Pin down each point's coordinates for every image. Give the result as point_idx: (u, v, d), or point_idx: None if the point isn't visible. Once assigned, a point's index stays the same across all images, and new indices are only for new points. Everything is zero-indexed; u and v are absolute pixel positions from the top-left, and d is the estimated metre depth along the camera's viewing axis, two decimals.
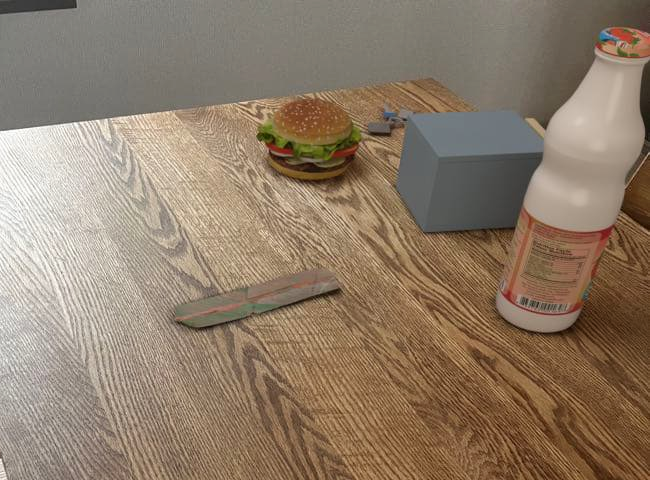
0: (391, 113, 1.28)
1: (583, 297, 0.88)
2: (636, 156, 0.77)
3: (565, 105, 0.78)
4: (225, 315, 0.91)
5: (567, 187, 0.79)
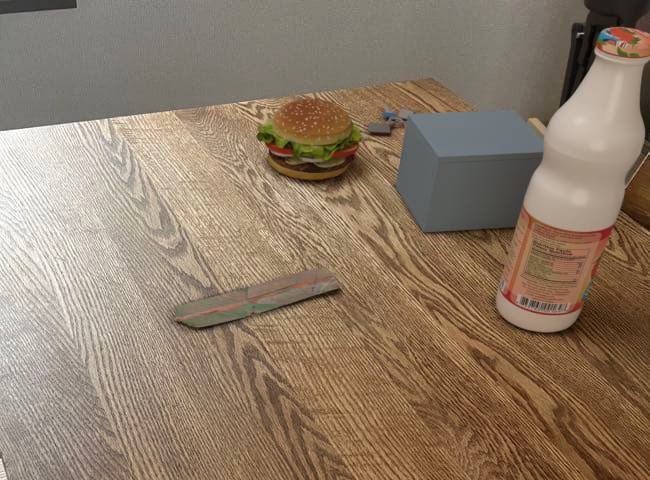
0: (391, 113, 1.28)
1: (583, 297, 0.88)
2: (636, 156, 0.77)
3: (565, 105, 0.78)
4: (225, 315, 0.91)
5: (567, 187, 0.79)
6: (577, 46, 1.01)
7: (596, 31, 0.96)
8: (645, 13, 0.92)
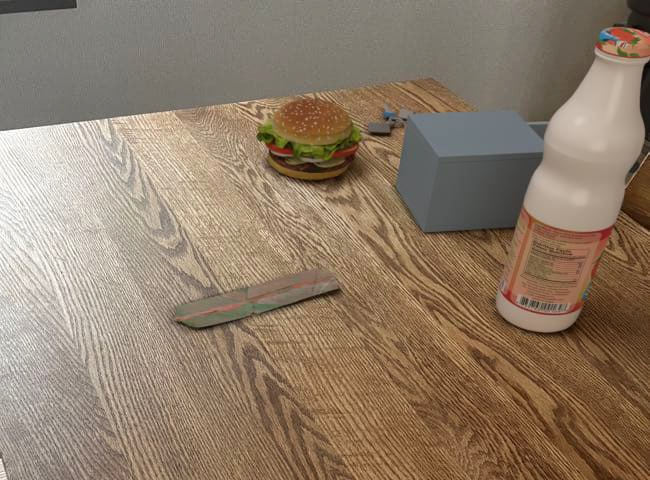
0: (391, 113, 1.28)
1: (583, 297, 0.88)
2: (636, 156, 0.77)
3: (565, 105, 0.78)
4: (225, 315, 0.91)
5: (567, 187, 0.79)
6: None
7: None
8: None
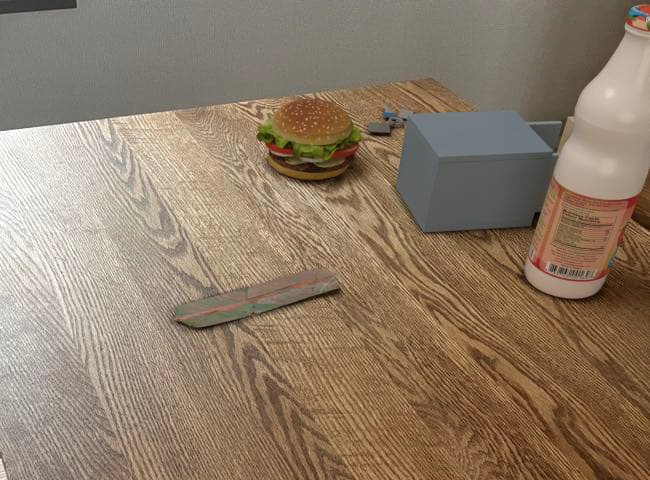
0: (391, 113, 1.28)
1: (609, 264, 0.93)
2: None
3: (595, 79, 0.82)
4: (225, 315, 0.91)
5: (597, 157, 0.84)
6: None
7: None
8: None
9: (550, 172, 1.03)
